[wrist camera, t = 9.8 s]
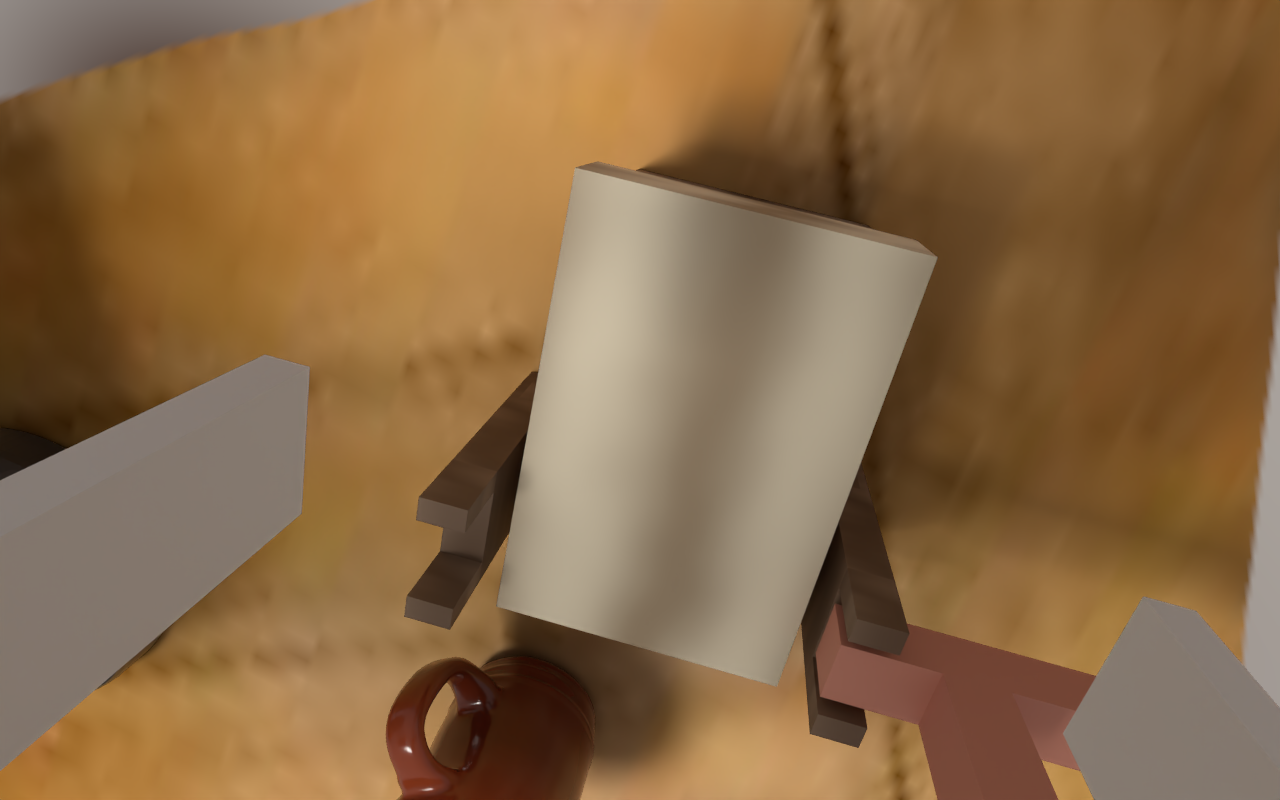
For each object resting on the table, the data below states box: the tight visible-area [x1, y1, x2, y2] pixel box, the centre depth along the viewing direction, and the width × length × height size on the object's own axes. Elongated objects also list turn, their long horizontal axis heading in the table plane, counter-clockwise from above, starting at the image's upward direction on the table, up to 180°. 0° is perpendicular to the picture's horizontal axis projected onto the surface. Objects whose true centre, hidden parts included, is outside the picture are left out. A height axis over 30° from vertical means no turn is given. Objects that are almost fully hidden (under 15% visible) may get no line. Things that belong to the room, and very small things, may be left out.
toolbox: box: [404, 169, 910, 748], centre depth 26 cm, size 14×14×12 cm
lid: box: [496, 162, 938, 687], centre depth 24 cm, size 10×15×3 cm, turn 167°
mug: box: [386, 656, 595, 800], centre depth 34 cm, size 12×9×10 cm
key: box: [816, 604, 1096, 800], centre depth 20 cm, size 16×2×7 cm, turn 77°
